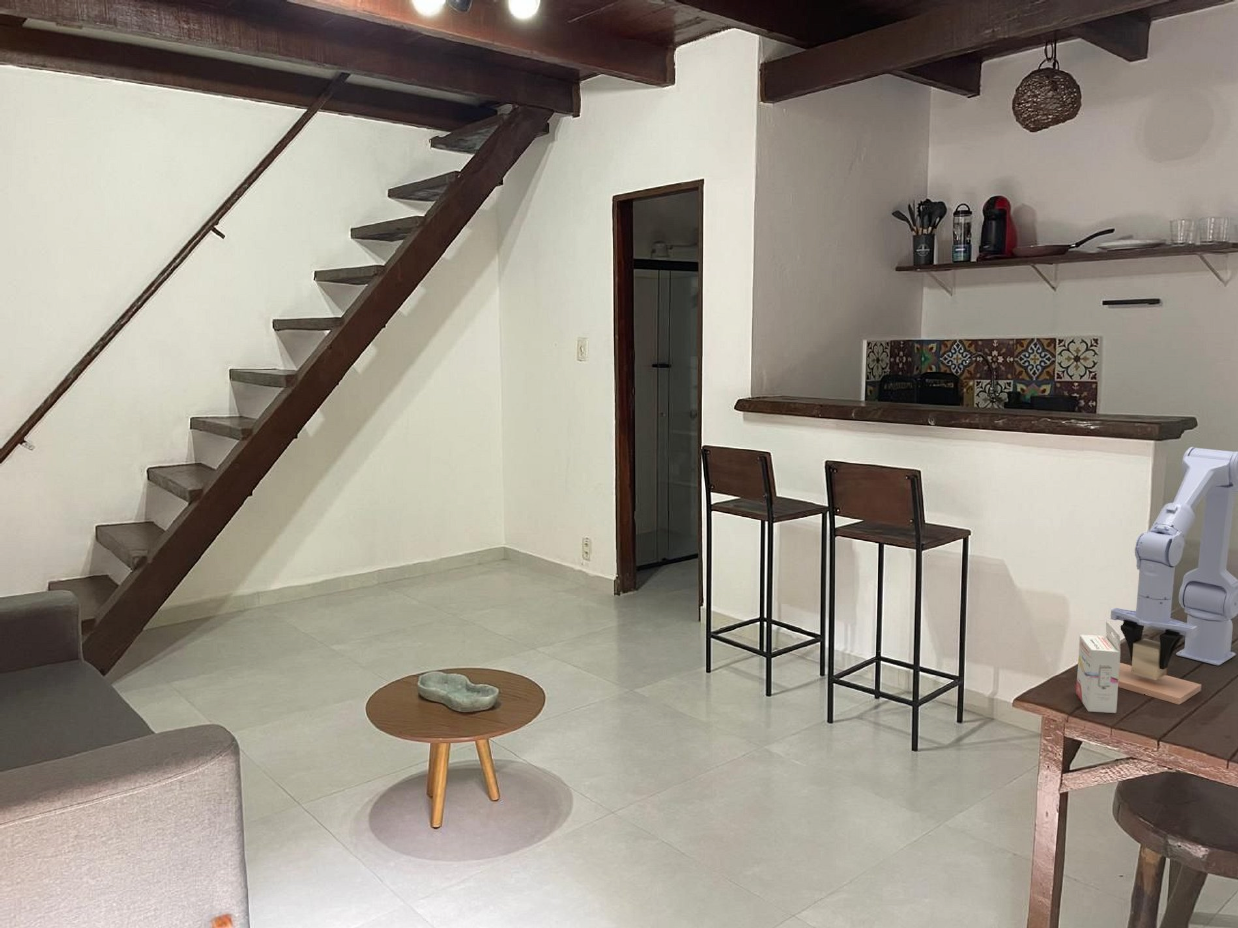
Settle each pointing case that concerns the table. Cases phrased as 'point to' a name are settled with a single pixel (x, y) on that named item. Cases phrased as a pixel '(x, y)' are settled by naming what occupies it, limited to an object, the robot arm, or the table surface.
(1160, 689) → the terracotta tile
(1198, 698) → the table surface
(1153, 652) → the maple block
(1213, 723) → the table surface
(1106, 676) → the ink cartridge box
